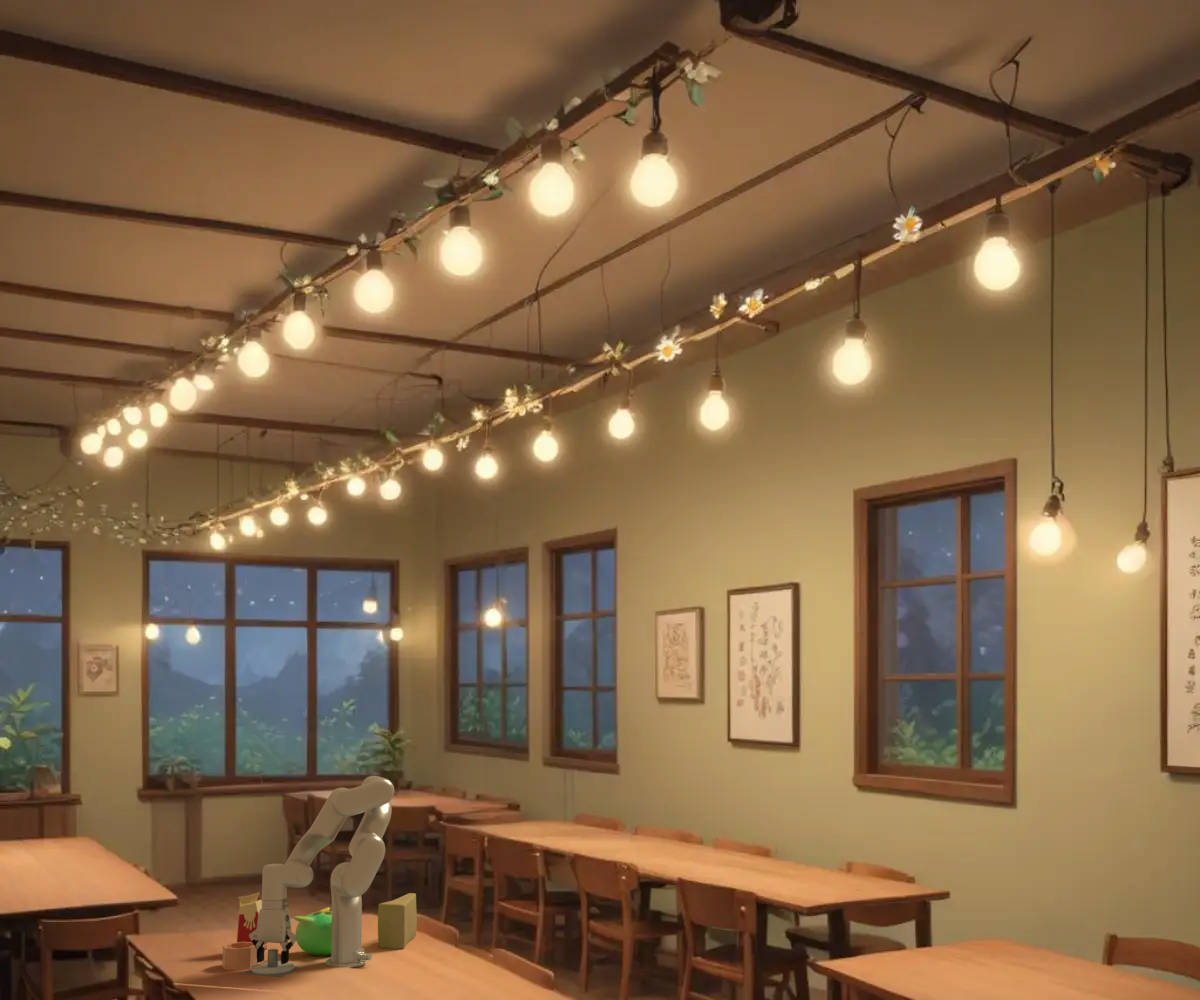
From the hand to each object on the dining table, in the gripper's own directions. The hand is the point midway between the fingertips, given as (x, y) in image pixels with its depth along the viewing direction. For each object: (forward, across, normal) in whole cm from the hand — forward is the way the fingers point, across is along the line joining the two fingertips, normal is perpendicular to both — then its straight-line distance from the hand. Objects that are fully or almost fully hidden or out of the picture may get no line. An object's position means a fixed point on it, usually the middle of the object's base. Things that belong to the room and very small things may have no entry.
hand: (272, 962), depth 411 cm
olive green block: (+3, -20, -52) cm, 55 cm away
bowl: (+3, +13, -2) cm, 13 cm away
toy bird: (+3, -3, -26) cm, 26 cm away
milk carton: (+3, +21, -21) cm, 30 cm away
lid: (+2, 0, 0) cm, 2 cm away
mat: (+3, 0, 0) cm, 3 cm away
